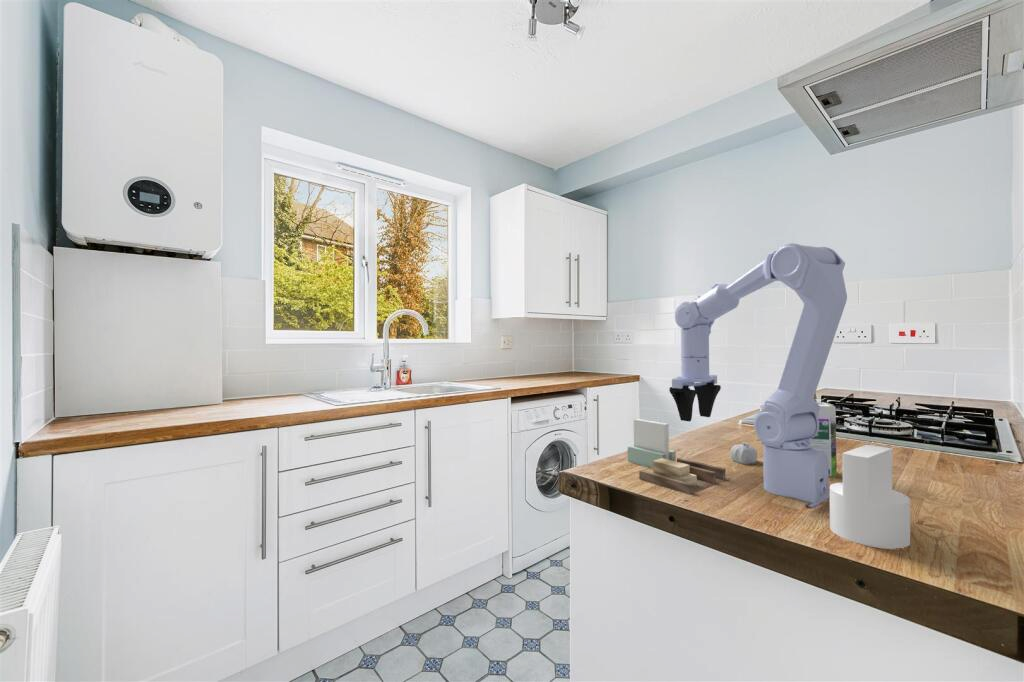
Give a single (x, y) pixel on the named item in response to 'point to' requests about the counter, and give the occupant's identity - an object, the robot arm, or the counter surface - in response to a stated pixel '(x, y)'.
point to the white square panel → (651, 436)
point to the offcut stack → (674, 470)
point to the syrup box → (827, 436)
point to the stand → (647, 456)
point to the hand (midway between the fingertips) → (695, 418)
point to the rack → (704, 472)
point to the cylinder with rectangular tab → (869, 501)
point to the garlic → (743, 453)
